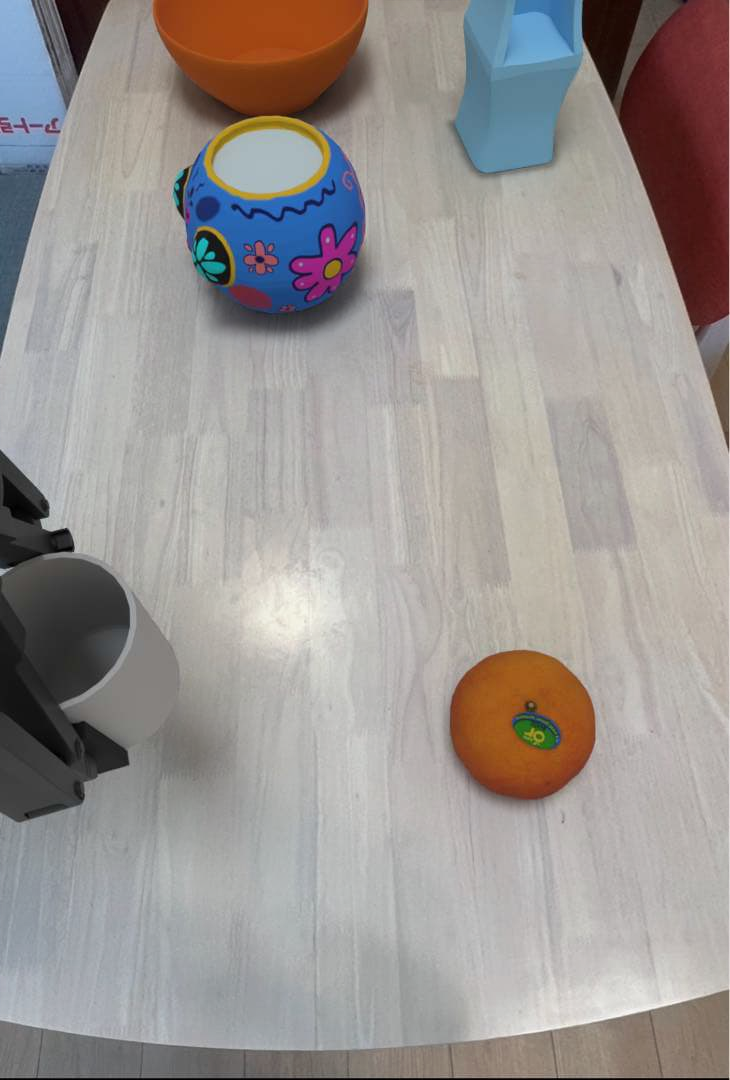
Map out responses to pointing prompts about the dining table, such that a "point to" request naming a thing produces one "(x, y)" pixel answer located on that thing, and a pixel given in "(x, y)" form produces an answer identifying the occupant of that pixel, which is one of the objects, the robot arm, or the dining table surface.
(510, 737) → the fruit
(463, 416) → the dining table surface
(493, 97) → the vase
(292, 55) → the bowl
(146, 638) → the cup
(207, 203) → the ceramic pot
